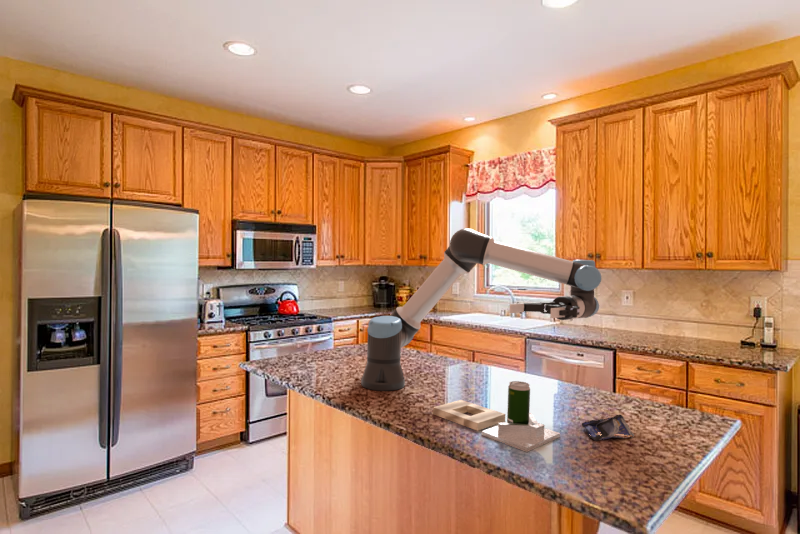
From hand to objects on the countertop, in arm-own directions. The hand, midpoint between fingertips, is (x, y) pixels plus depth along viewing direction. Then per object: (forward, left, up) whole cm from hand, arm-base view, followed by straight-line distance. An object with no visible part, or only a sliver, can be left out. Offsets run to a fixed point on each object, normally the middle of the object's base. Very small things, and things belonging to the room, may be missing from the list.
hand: (530, 310), depth 133 cm
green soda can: (+8, -17, -29) cm, 34 cm away
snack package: (+23, +2, -31) cm, 38 cm away
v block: (+8, -17, -30) cm, 35 cm away
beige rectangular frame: (-8, -17, -30) cm, 35 cm away
